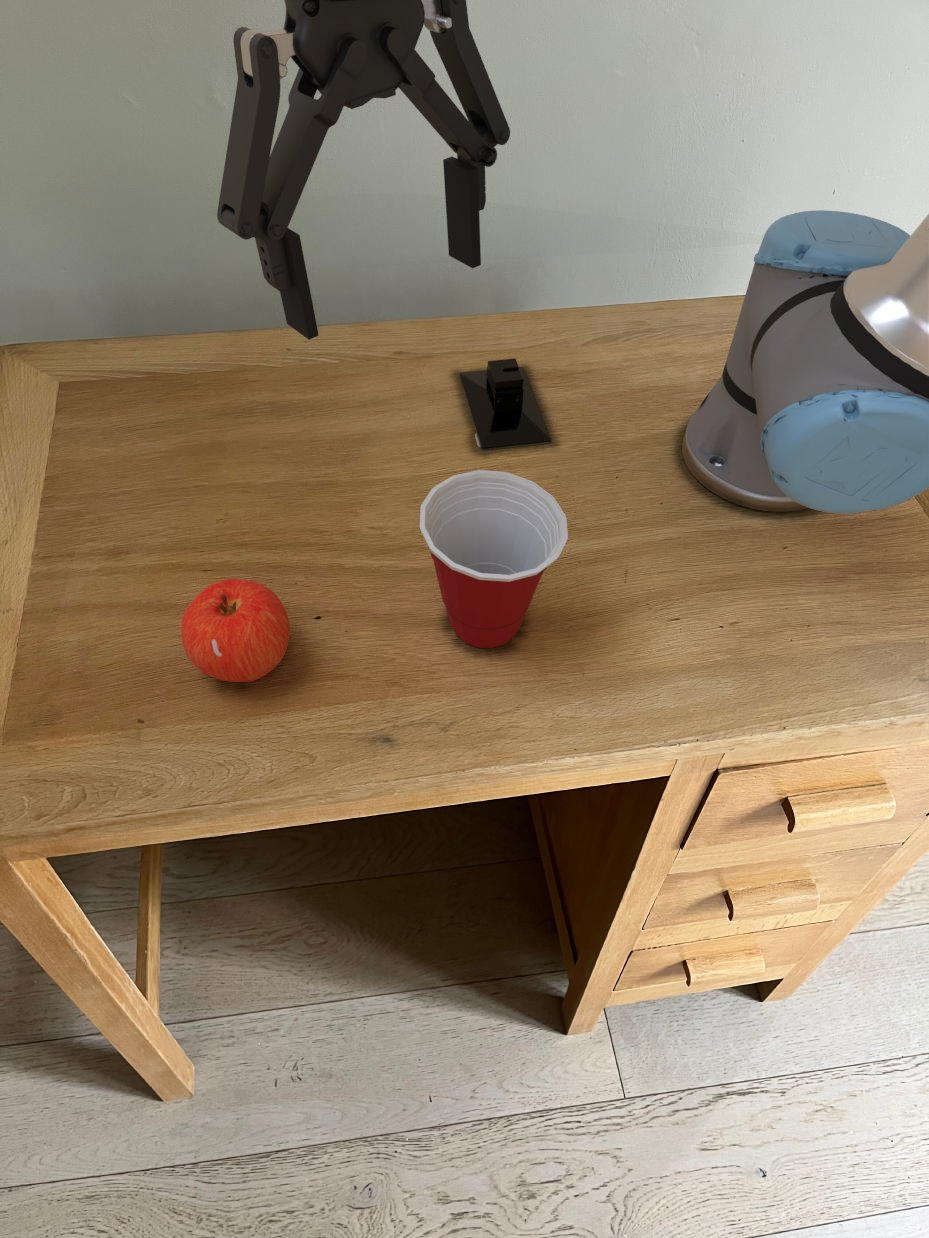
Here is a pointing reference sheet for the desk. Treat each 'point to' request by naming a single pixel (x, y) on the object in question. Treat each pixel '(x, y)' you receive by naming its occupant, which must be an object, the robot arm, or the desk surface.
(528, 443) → the black stand
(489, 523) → the plastic cup
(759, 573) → the desk surface
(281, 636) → the apple
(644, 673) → the desk surface
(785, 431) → the robot arm
